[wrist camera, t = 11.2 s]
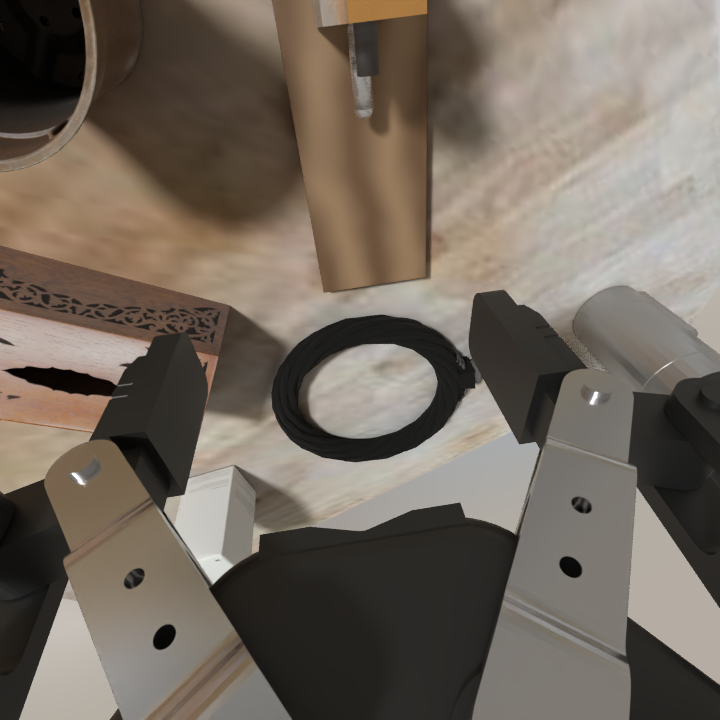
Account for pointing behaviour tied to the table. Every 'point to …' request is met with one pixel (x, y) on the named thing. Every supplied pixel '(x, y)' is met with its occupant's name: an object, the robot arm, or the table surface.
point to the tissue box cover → (85, 337)
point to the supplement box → (217, 519)
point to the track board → (360, 143)
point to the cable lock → (371, 330)
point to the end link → (347, 6)
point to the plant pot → (59, 70)
